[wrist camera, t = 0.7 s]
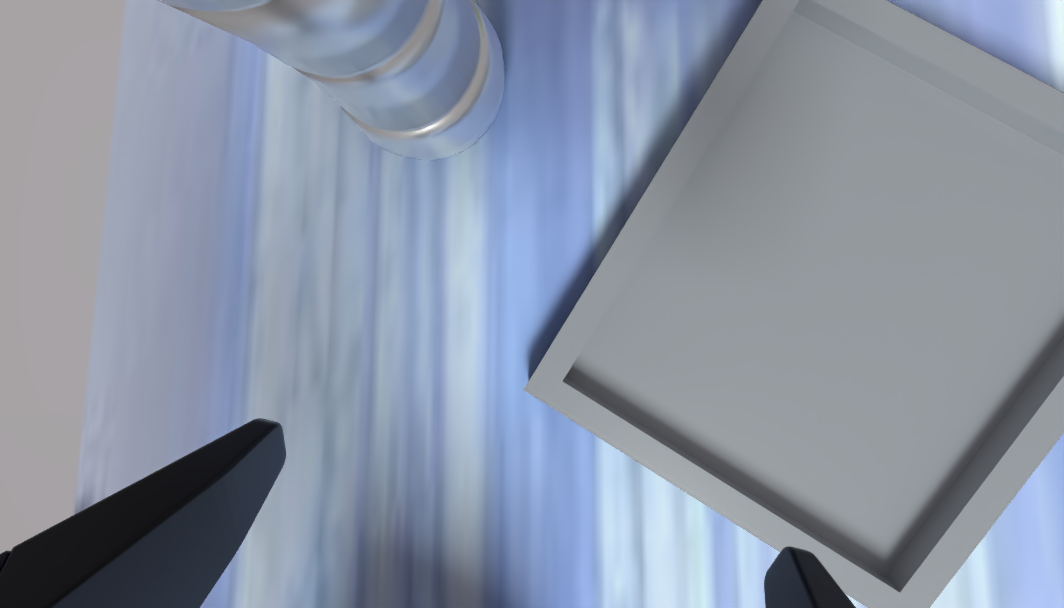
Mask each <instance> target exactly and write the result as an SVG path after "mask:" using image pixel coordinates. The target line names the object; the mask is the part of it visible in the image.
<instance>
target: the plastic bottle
mask: <svg viewBox="0 0 1064 608" xmlns="http://www.w3.org/2000/svg"><path fill="white" fill-rule="evenodd" d="M158 1H160V2H162V3H165V4H167V5H169V6H171V7H173V8H176V9H178V10H180V11H182V12H184V13H187V14H189V15H191V16H193V17H196V18H198V19H200V20H202V21H204V22H207V23H209V24H211V25H213V26H215V27H218V28H220V29H222V30H224V31H226V32H229V33H231V34H233V35H235V36H237V37H240V38H242V39H244V40H246V41H249V42H251V43H252V44H254V45H256V46H257V47H259V48H261V49H262V50H264V51H266V52H267V53H269V54H271V55H272V56H274V57H276V58H277V59H279V60H281V61H282V62H284V63H286V64H287V65H290V66H292V67H293V68H295V69H296V70H298V71H299V72H301V73H302V74H304V75H306V76H307V77H309V78H311V79H312V80H313V81H314V82H315V83H316V84H317V85H318V86H319V87H321V88H322V89H323V90H324V91H325V92H326V93H327V94H328V95H329V96H330V97H332V98H333V99H334V100H335V101H336V102H337V103H338V104H339V105H340V106H341V107H342V109H343V110H344V111H345V113H346V114H347V116H348V117H349V118H350V119H351V120H352V121H353V122H354V124H355V125H356V126H357V127H358V128H359V129H360V130H361V131H362V132H363V133H364V134H365V135H366V136H367V137H368V138H369V139H370V140H371V141H372V142H374V143H375V144H377V145H378V146H379V147H381V148H382V149H384V150H387V151H389V152H391V153H393V154H396V155H400V156H405V157H410V158H415V159H421V160H437V159H442V158H447V157H451V156H453V155H456V154H458V153H460V152H463V151H464V150H466V149H467V148H469V147H470V146H472V145H473V144H475V143H476V142H477V141H478V140H479V139H480V138H481V137H482V136H483V135H484V134H485V133H486V131H487V130H488V128H489V127H490V126H491V124H492V123H493V121H494V119H495V117H496V115H497V113H498V111H499V108H500V105H501V101H502V97H503V93H504V61H503V53H502V47H501V44H500V41H499V38H498V36H497V33H496V31H495V29H494V28H493V26H492V24H491V23H490V21H489V19H488V18H487V17H486V15H485V14H484V12H483V11H482V10H481V8H480V7H479V6H478V4H477V3H476V2H475V1H474V0H158Z"/></svg>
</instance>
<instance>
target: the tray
mask: <svg viewBox="0 0 1064 608" xmlns="http://www.w3.org/2000/svg"><path fill="white" fill-rule="evenodd" d="M524 390H525V391H526V392H528V393H529V394H531V395H533V396H534V397H536V398H537V399H539V400H540V401H542V402H544V403H545V404H547V405H548V406H550V407H552V408H553V409H555V410H556V411H558V412H559V413H561V414H563V415H564V416H566V417H567V418H569V419H570V420H572V421H574V422H575V423H577V424H578V425H580V426H582V427H583V428H585V429H586V430H588V431H589V432H591V433H593V434H594V435H596V436H597V437H599V438H601V439H602V440H604V441H605V442H607V443H608V444H610V445H612V446H613V447H615V448H616V449H618V450H620V451H621V452H623V453H624V454H626V455H627V456H629V457H631V458H632V459H634V460H635V461H637V462H638V463H640V464H642V465H643V466H645V467H646V468H648V469H650V470H651V471H653V472H654V473H656V474H657V475H659V476H661V477H662V478H664V479H665V480H667V481H669V482H670V483H672V484H673V485H675V486H676V487H678V488H680V489H681V490H683V491H684V492H686V493H687V494H689V495H691V496H692V497H694V498H695V499H697V500H699V501H700V502H702V503H703V504H705V505H706V506H708V507H710V508H711V509H713V510H714V511H716V512H718V513H719V514H721V515H722V516H724V517H725V518H727V519H729V520H730V521H732V522H733V523H735V524H736V525H738V526H740V527H741V528H743V529H744V530H746V531H748V532H749V533H751V534H752V535H754V536H755V537H757V538H759V539H760V540H762V541H763V542H765V543H767V544H768V545H770V546H771V547H773V548H774V549H776V550H778V551H779V552H781V550H782V549H783V548H785V547H787V546H791V547H795V548H799V549H804V550H807V551H810V552H811V553H813V554H814V555H815V556H816V557H817V558H818V560H819V561H820V562H821V563H822V565H823V566H824V567H825V569H826V570H827V571H828V572H829V574H830V575H831V576H832V578H833V579H834V580H835V581H836V583H837V584H838V585H839V587H840V588H841V589H842V590H843V592H844V593H846V594H847V595H849V596H850V597H852V598H853V599H855V600H857V601H858V602H860V603H861V604H863V605H865V606H866V607H868V608H930V606H931V605H932V604H933V603H934V601H935V600H936V599H937V597H938V596H939V595H940V593H941V592H942V591H943V589H944V588H945V587H946V586H947V584H948V583H949V582H950V580H951V579H952V578H953V576H954V575H955V574H956V573H957V571H958V570H959V569H960V567H961V566H962V565H963V563H964V562H965V561H966V560H967V558H968V557H969V556H970V554H971V553H972V552H973V550H974V549H975V548H976V546H977V545H978V544H979V543H980V541H981V540H982V539H983V537H984V536H985V535H986V533H987V532H988V531H989V530H990V528H991V527H992V526H993V524H994V523H995V522H996V520H997V519H998V518H999V516H1000V515H1001V514H1002V513H1003V511H1004V510H1005V509H1006V507H1007V506H1008V505H1009V503H1010V502H1011V501H1012V500H1013V498H1014V497H1015V496H1016V494H1017V493H1018V492H1019V490H1020V489H1021V488H1022V487H1023V485H1024V484H1025V483H1026V481H1027V480H1028V479H1029V477H1030V476H1031V475H1032V473H1033V472H1034V471H1035V470H1036V468H1037V467H1038V466H1039V464H1040V463H1041V462H1042V460H1043V459H1044V458H1045V457H1046V455H1047V454H1048V453H1049V451H1050V450H1051V449H1052V447H1053V446H1054V445H1055V444H1056V442H1057V441H1058V440H1059V438H1060V437H1061V436H1062V434H1063V433H1064V93H1062V92H1060V91H1058V90H1057V89H1055V88H1053V87H1051V86H1049V85H1047V84H1045V83H1043V82H1041V81H1039V80H1037V79H1036V78H1034V77H1032V76H1030V75H1028V74H1026V73H1024V72H1022V71H1020V70H1018V69H1016V68H1015V67H1013V66H1011V65H1009V64H1007V63H1005V62H1003V61H1001V60H999V59H997V58H995V57H994V56H992V55H990V54H988V53H986V52H984V51H982V50H980V49H978V48H976V47H974V46H973V45H971V44H969V43H967V42H965V41H963V40H961V39H959V38H957V37H955V36H953V35H951V34H950V33H948V32H946V31H944V30H942V29H940V28H938V27H936V26H934V25H932V24H930V23H929V22H927V21H925V20H923V19H921V18H919V17H917V16H915V15H913V14H911V13H909V12H908V11H906V10H904V9H902V8H900V7H898V6H896V5H894V4H892V3H890V2H888V1H887V0H763V1H762V2H761V4H760V5H759V7H758V9H757V10H756V12H755V14H754V15H753V17H752V18H751V20H750V22H749V23H748V25H747V27H746V28H745V30H744V31H743V33H742V35H741V36H740V38H739V40H738V41H737V43H736V45H735V46H734V48H733V49H732V51H731V53H730V54H729V56H728V58H727V59H726V61H725V62H724V64H723V66H722V67H721V69H720V71H719V72H718V74H717V75H716V77H715V79H714V80H713V82H712V84H711V85H710V87H709V88H708V90H707V92H706V93H705V95H704V97H703V98H702V100H701V102H700V103H699V105H698V106H697V108H696V110H695V111H694V113H693V115H692V116H691V118H690V119H689V121H688V123H687V124H686V126H685V128H684V129H683V131H682V132H681V134H680V136H679V137H678V139H677V141H676V142H675V144H674V145H673V147H672V149H671V150H670V152H669V154H668V155H667V157H666V159H665V160H664V162H663V163H662V165H661V167H660V168H659V170H658V172H657V173H656V175H655V176H654V178H653V180H652V181H651V183H650V185H649V186H648V188H647V189H646V191H645V193H644V194H643V196H642V198H641V199H640V201H639V202H638V204H637V206H636V207H635V209H634V211H633V212H632V214H631V216H630V217H629V219H628V220H627V222H626V224H625V225H624V227H623V229H622V230H621V232H620V233H619V235H618V237H617V238H616V240H615V242H614V243H613V245H612V246H611V248H610V250H609V251H608V253H607V255H606V256H605V258H604V259H603V261H602V263H601V264H600V266H599V268H598V269H597V271H596V273H595V274H594V276H593V277H592V279H591V281H590V282H589V284H588V286H587V287H586V289H585V290H584V292H583V294H582V295H581V297H580V299H579V300H578V302H577V303H576V305H575V307H574V308H573V310H572V312H571V313H570V315H569V316H568V318H567V320H566V321H565V323H564V325H563V326H562V328H561V330H560V331H559V333H558V334H557V336H556V338H555V339H554V341H553V343H552V344H551V346H550V347H549V349H548V351H547V352H546V354H545V356H544V357H543V359H542V360H541V362H540V364H539V365H538V367H537V369H536V370H535V372H534V373H533V375H532V377H531V378H530V380H529V382H528V383H527V385H526V387H525V388H524Z"/></svg>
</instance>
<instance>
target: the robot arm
mask: <svg viewBox="0 0 1064 608" xmlns="http://www.w3.org/2000/svg"><path fill="white" fill-rule="evenodd" d="M285 459H286V449H285V443H284V436H283V429H282V426H281V425H280V423H278V422H275V421H270V420H266V419H261V418H259V419H255V420H252V421H250V422H248V423H247V424H245V425H243V426H241V427H239V428H237V429H235V430H233V431H231V432H230V433H228V434H226V435H224V436H222V437H220V438H218V439H216V440H214V441H213V442H211V443H209V444H207V445H205V446H203V447H201V448H199V449H198V450H196V451H194V452H192V453H190V454H188V455H186V456H184V457H182V458H181V459H179V460H177V461H175V462H173V463H171V464H169V465H167V466H165V467H164V468H162V469H160V470H158V471H156V472H154V473H152V474H150V475H149V476H147V477H145V478H143V479H141V480H139V481H137V482H135V483H133V484H132V485H130V486H128V487H126V488H124V489H122V490H120V491H118V492H116V493H115V494H113V495H111V496H109V497H107V498H105V499H103V500H101V501H100V502H98V503H96V504H94V505H92V506H90V507H88V508H86V509H84V510H83V511H81V512H79V513H77V514H75V515H73V516H71V517H70V518H68V519H66V520H64V521H62V522H60V523H58V524H56V525H54V526H52V527H50V528H49V529H47V530H45V531H43V532H41V533H39V534H38V535H35V536H34V537H32V538H30V539H28V540H26V541H24V542H22V543H21V544H18V545H17V546H15V547H14V548H13V549H12V550H11V551H5V552H3V553H1V554H0V608H200V606H201V605H202V603H203V602H204V600H205V599H206V597H207V596H208V594H209V593H210V591H211V590H212V588H213V587H214V585H215V584H216V582H217V581H218V579H219V578H220V576H221V575H222V573H223V572H224V570H225V569H226V567H227V566H228V564H229V563H230V561H231V560H232V558H233V557H234V555H235V553H236V552H237V550H238V549H239V547H240V546H241V544H242V542H243V540H244V538H245V537H246V535H247V533H248V531H249V529H250V527H251V526H252V524H253V522H254V520H255V518H256V516H257V514H258V512H259V511H260V509H261V507H262V505H263V503H264V501H265V499H266V497H267V496H268V494H269V492H270V490H271V488H272V486H273V484H274V482H275V480H276V479H277V477H278V475H279V473H280V471H281V469H282V467H283V465H284V462H285ZM764 591H765V605H766V608H856V607H855V606H854V605H853V603H852V602H851V601H850V600H849V598H848V597H847V596H846V594H845V593H844V592H843V590H842V589H841V588H840V587H839V585H838V584H837V583H836V581H835V580H834V579H833V578H832V576H831V575H830V574H829V572H828V571H827V570H826V569H825V567H824V566H823V565H822V563H821V562H820V561H819V560H818V558H817V557H816V556H815V555H814V554H813V553H811V552H810V551H807V550H804V549H799V548H795V547H791V546H787V547H785V548H783V549H782V550H781V552H780V553H779V555H778V556H777V558H776V559H775V561H774V562H773V563H772V565H771V566H770V568H769V569H768V571H767V573H766V576H765V580H764Z"/></svg>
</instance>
